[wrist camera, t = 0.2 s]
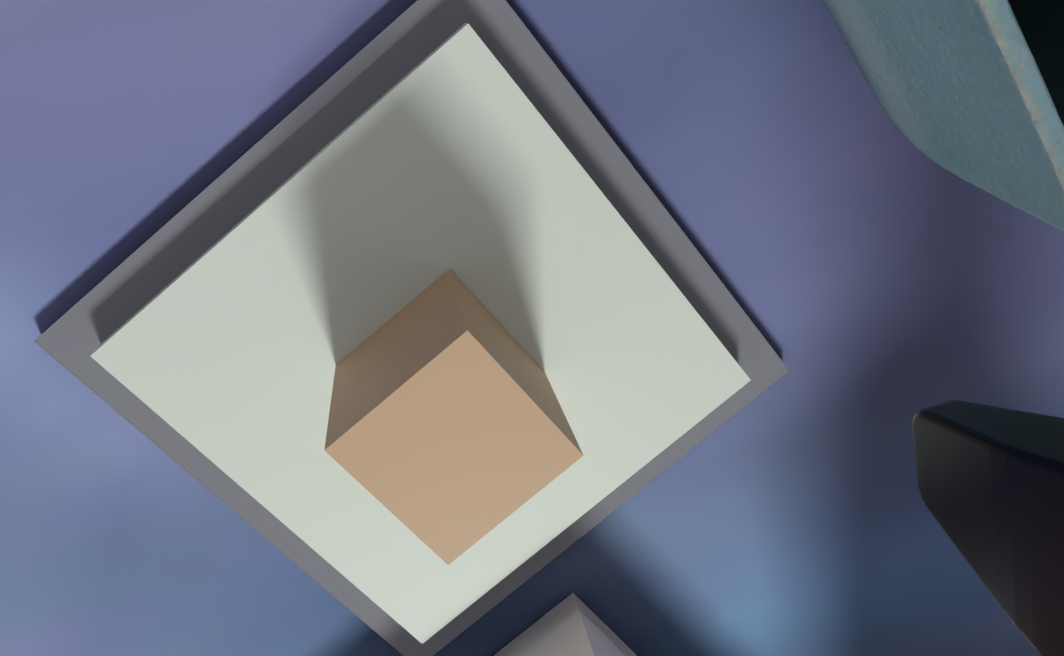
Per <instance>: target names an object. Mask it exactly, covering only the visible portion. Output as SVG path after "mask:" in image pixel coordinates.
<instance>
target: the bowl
mask: <svg viewBox="0 0 1064 656" xmlns="http://www.w3.org/2000/svg"><path fill="white" fill-rule="evenodd" d="M494 656H637V655H636V654H635V653H634V652H633V651H632V650H631V649H630V648H629V647H628V646H627V645H626V644H625V643H624V642H623V641H622V640H621V639H620V638H619V637H618V636H617V635H616V634H615V633H614V632H613V631H612V630H611V629H610V628H609V627H608V626H607V625H606V624H605V623H604V622H603V621H602V620H600V619H599V618H598V617H597V616H596V615H595V614H594V613H593V612H592V611H591V610H590V609H589V608H588V607H587V606H586V605H585V604H584V603H583V602H582V601H581V600H580V599H579V598H578V597H577V596H576V595H575V594H574V593H572V594H570V595H569V596H568V597H567V598H565V599H564V600H563V601H562V602H560V603H559V604H558V605H557V606H555V607H554V608H553V609H552V610H550V611H549V612H548V613H546V614H545V615H544V616H543V617H541V618H540V619H539V620H538V621H536V622H535V623H534V624H533V625H531V626H530V627H529V628H528V629H526V630H525V631H524V632H523V633H521V634H520V635H519V636H517V637H516V638H515V639H514V640H512V641H511V642H510V643H509V644H507V645H506V646H505V647H504V648H502V649H501V650H500V651H499V652H497V653H496V654H495V655H494Z"/></svg>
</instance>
